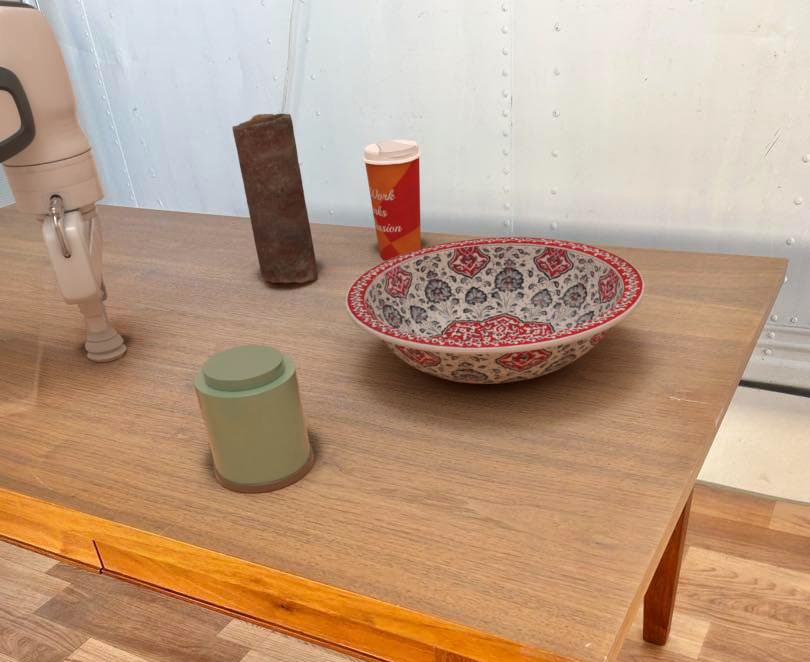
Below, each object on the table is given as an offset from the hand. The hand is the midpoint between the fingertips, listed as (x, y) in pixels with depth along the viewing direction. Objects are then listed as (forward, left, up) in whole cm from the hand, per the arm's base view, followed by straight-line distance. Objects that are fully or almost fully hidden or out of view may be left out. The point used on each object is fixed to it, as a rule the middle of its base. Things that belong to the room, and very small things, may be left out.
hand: (100, 314), depth 94 cm
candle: (+23, +13, -5) cm, 27 cm away
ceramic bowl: (+38, -21, -5) cm, 44 cm away
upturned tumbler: (+12, -32, -5) cm, 35 cm away
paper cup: (+39, +15, -5) cm, 43 cm away
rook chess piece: (-1, 0, -5) cm, 5 cm away
